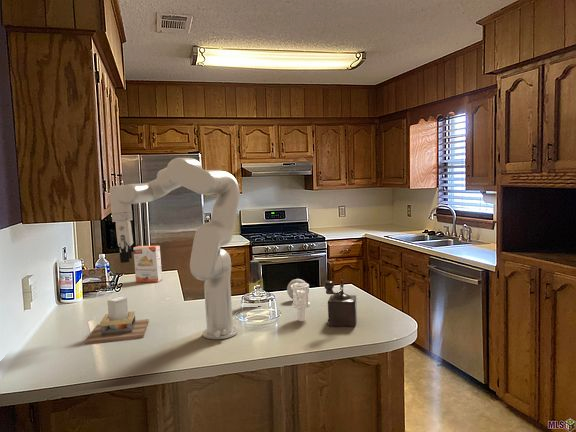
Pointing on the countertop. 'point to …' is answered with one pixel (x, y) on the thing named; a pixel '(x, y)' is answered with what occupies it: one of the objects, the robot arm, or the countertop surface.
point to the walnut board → (136, 333)
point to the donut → (289, 290)
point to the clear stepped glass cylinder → (300, 299)
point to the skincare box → (118, 311)
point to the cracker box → (147, 264)
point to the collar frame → (106, 322)
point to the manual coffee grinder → (341, 307)
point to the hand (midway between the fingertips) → (126, 260)
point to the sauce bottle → (255, 276)
